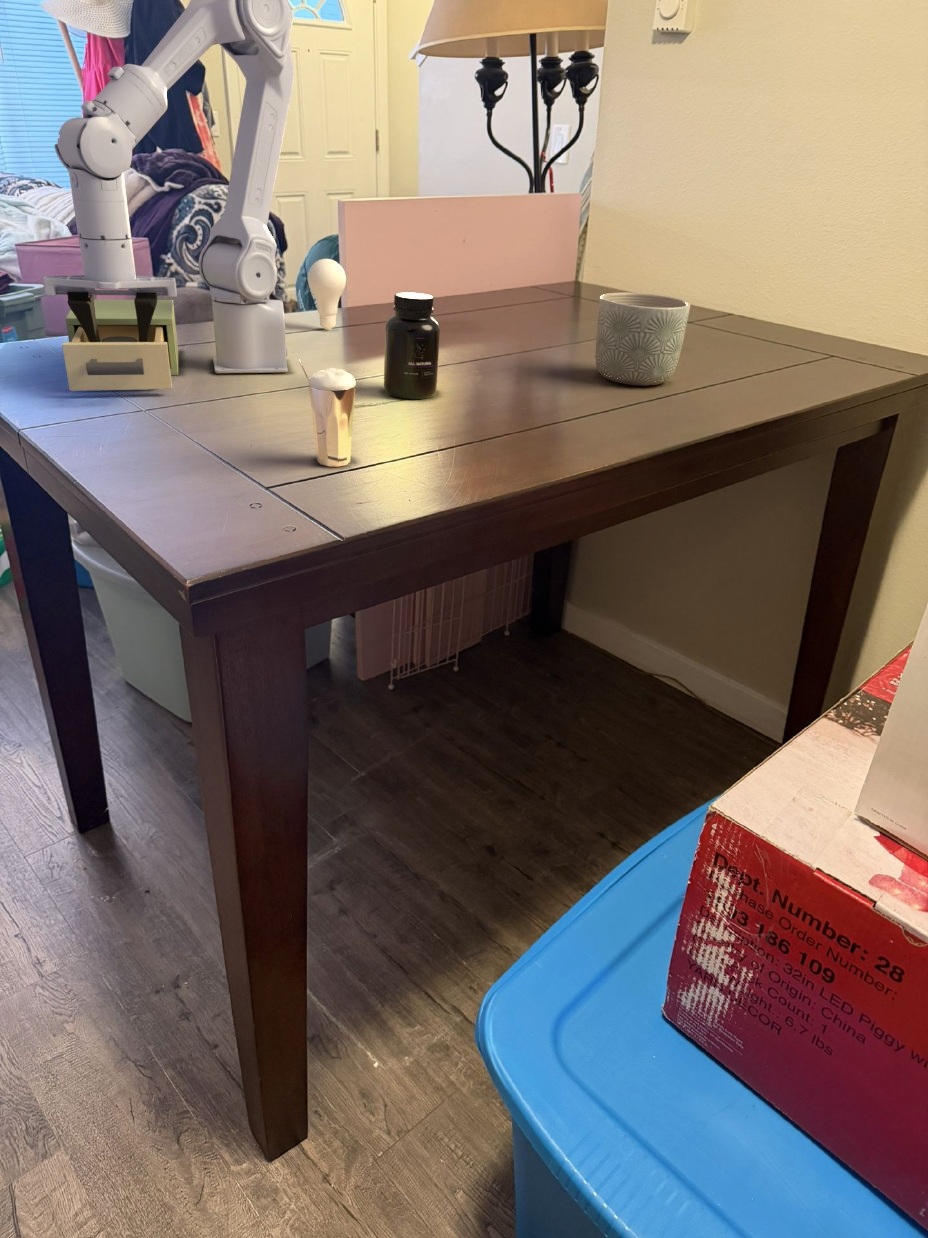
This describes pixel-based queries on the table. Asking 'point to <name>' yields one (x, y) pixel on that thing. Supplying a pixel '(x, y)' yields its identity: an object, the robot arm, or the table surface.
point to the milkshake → (332, 414)
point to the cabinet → (133, 321)
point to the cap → (119, 339)
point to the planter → (639, 337)
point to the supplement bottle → (411, 348)
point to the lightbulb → (327, 289)
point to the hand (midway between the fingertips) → (121, 357)
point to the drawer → (117, 360)
